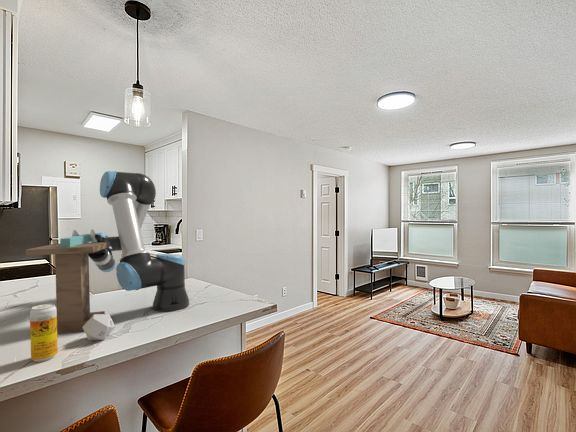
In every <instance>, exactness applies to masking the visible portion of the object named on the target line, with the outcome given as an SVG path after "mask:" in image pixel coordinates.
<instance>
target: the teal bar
mask: <svg viewBox="0 0 576 432" xmlns="http://www.w3.org/2000/svg"><path fill="white" fill-rule="evenodd" d="M91 241H94V240H93V239H92V237H91V236H90V233H85V234H79V236H73V237H72V236H68V237H63V238H60V241H59V242H60V243H59V244H60V247H72V246H76V245H80V244H83V243H91Z"/></svg>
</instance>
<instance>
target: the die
mask: <svg viewBox="0 0 576 432" xmlns="http://www.w3.org/2000/svg"><path fill="white" fill-rule="evenodd" d="M82 328H83V330H84V331H83V332H84V334H85V336H86V337H87V340H88V341H105V340H106V339H107V338H108V337H109V335H111V333H112V332H113V330H114V329H115V328H116V325H115V323H114V321H113V319H112V317H111V315H110V313H105V314H94V315H93V316H92V317H91V318H90V319H89V320H88V321H87V323H86V324H85V325H84V326H83V327H82Z"/></svg>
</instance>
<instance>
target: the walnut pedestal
mask: <svg viewBox="0 0 576 432" xmlns="http://www.w3.org/2000/svg"><path fill="white" fill-rule="evenodd" d="M108 247H110V242H92V243H91V242H87V243H83V244H80V245H76V246H72V247H60V243H51V244H47V245H42V246H37V247H32V248H27V249H25V256H46V255H50V256H51V255H52V256H53V255H54V262H55V263H54V266H55V301H56V305H55V307H56V308H57V335H59V334H66V333H67V334H69V333H77V332H78V333H79V332H84V330H83V328H82V327H83V326H84V325H85V324H86V323H87V321H88V320H89V319H90V318H91V317H92V316H93V315H94V314H106V311H105V310H102V311H101V310H100V311H91V303H90V301H91V300H90V298H91V297H90V295H91V294H90V263H89V261H90V259H89V258H90V257H89V253H94V252H97V251H99V250H102V249H105V248H108Z"/></svg>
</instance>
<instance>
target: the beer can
mask: <svg viewBox="0 0 576 432" xmlns="http://www.w3.org/2000/svg"><path fill="white" fill-rule="evenodd" d="M29 326H30V327H29V330H30V337H29V338H30V359H31V360H32V361H33V362H35V363H40V362H41V363H42V362H46V361H49V360H51V359H54V358H55V357H56V355H57V354H58V353H59V350H58V349H59V347H58V346H59V345H58V334H57V306H56V305H55V304H54V303H44V304H39V305H36V306H32V307H31V310H30V312H29Z"/></svg>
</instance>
